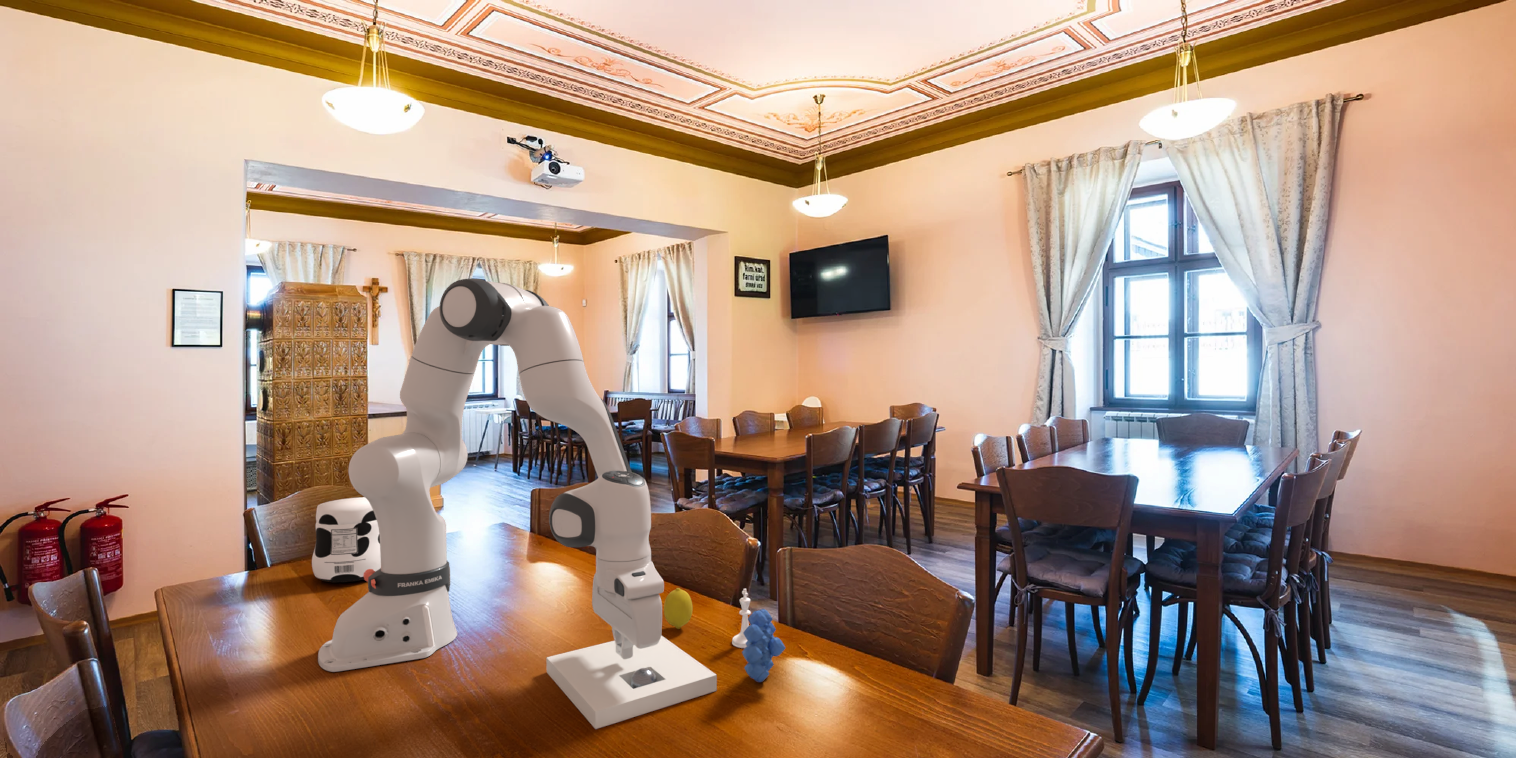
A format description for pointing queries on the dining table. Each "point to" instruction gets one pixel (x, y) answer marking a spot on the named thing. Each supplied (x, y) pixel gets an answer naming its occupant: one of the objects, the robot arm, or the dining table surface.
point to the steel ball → (642, 678)
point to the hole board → (628, 680)
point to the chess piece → (743, 621)
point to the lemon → (678, 608)
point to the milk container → (346, 540)
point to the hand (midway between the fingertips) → (624, 655)
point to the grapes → (761, 645)
